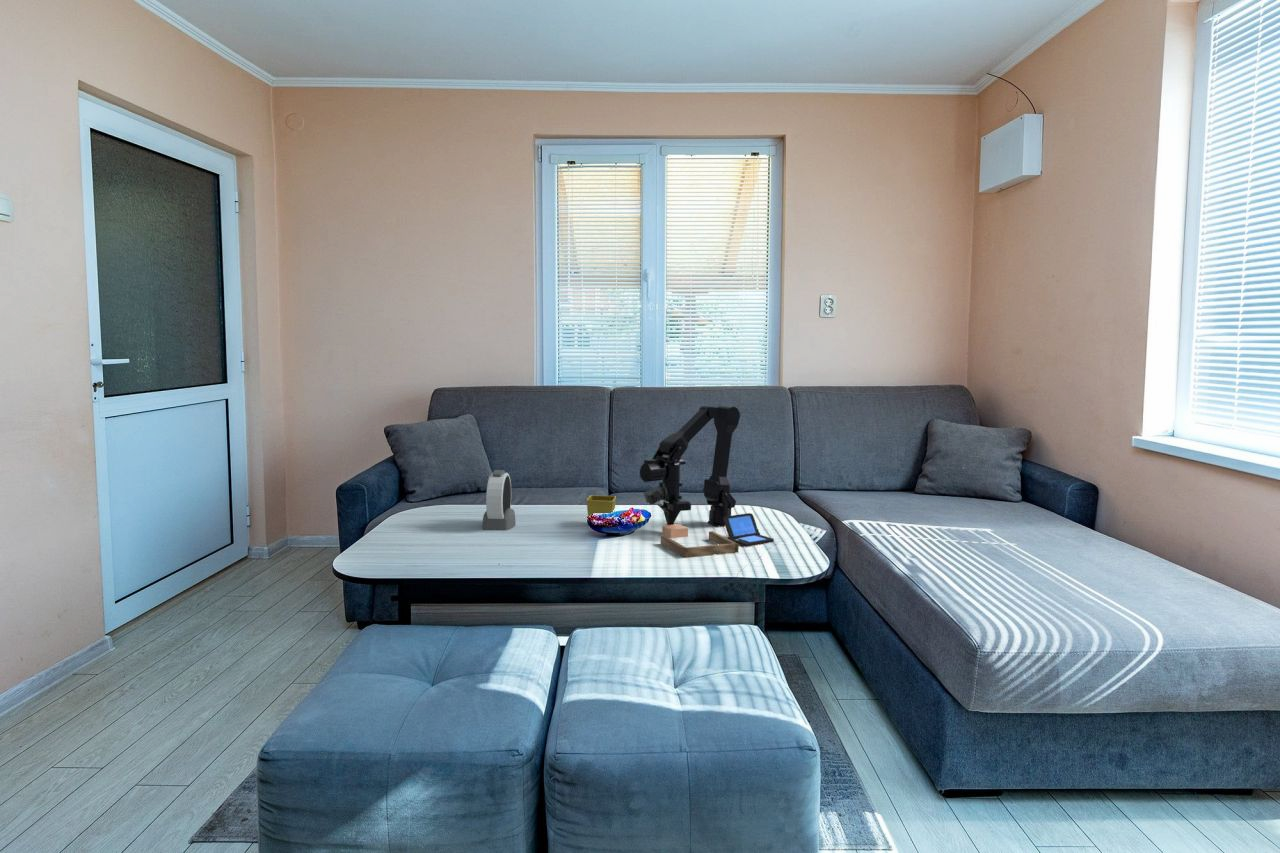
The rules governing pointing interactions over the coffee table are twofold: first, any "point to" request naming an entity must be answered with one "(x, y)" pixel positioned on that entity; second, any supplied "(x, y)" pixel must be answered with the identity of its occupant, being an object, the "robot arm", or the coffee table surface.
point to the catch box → (722, 548)
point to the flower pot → (600, 504)
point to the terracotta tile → (675, 531)
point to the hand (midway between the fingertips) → (669, 527)
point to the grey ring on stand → (498, 503)
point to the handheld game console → (744, 530)
